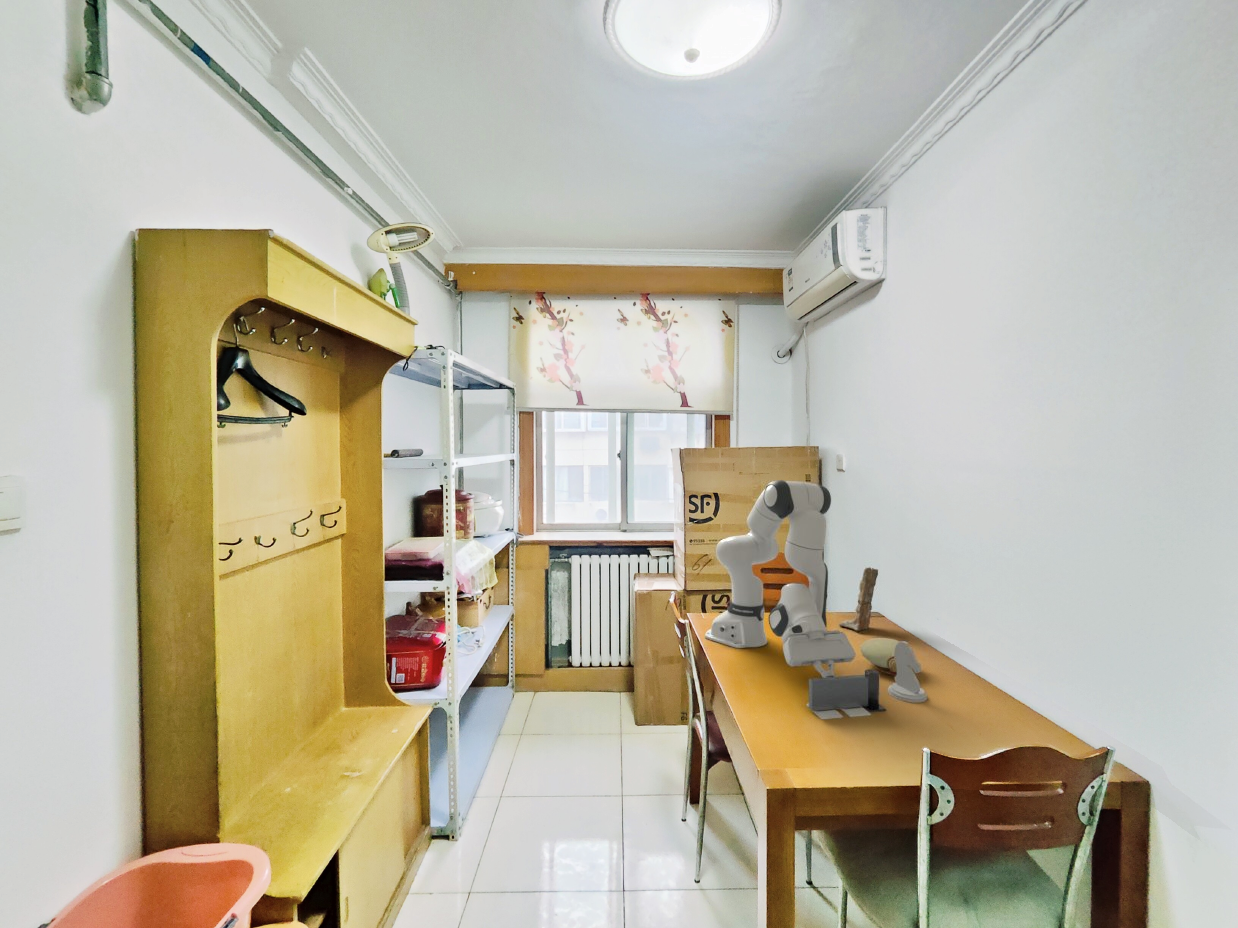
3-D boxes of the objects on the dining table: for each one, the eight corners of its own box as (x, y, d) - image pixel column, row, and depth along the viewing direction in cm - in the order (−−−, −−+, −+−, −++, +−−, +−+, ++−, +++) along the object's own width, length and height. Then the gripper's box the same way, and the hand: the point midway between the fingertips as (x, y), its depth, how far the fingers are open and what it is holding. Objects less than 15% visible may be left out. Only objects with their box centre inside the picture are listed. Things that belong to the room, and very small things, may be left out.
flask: (906, 660, 178) (925, 686, 160) (855, 657, 181) (868, 682, 163) (907, 633, 177) (926, 656, 160) (855, 630, 180) (869, 652, 163)
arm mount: (874, 701, 149) (874, 700, 149) (885, 710, 144) (885, 708, 144) (857, 703, 149) (857, 701, 149) (868, 712, 144) (868, 710, 144)
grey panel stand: (873, 701, 149) (873, 669, 148) (881, 707, 145) (882, 674, 145) (806, 706, 145) (807, 674, 145) (813, 713, 142) (814, 679, 142)
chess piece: (909, 705, 148) (910, 651, 147) (880, 690, 157) (881, 639, 156) (935, 698, 151) (935, 646, 151) (904, 684, 160) (905, 635, 160)
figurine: (847, 625, 218) (853, 563, 220) (873, 631, 211) (879, 568, 213) (834, 626, 210) (840, 562, 212) (860, 633, 203) (867, 567, 205)
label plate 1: (826, 703, 149) (826, 701, 149) (842, 717, 141) (842, 715, 141) (806, 704, 148) (806, 703, 148) (821, 719, 140) (821, 717, 140)
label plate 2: (853, 701, 150) (853, 699, 150) (870, 715, 142) (870, 713, 142) (833, 702, 149) (833, 701, 149) (849, 716, 141) (849, 715, 141)
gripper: (839, 634, 163) (858, 679, 154) (776, 639, 160) (791, 685, 150) (847, 624, 159) (868, 670, 149) (782, 628, 155) (799, 675, 146)
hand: (829, 678), depth 150 cm, fingers closed
